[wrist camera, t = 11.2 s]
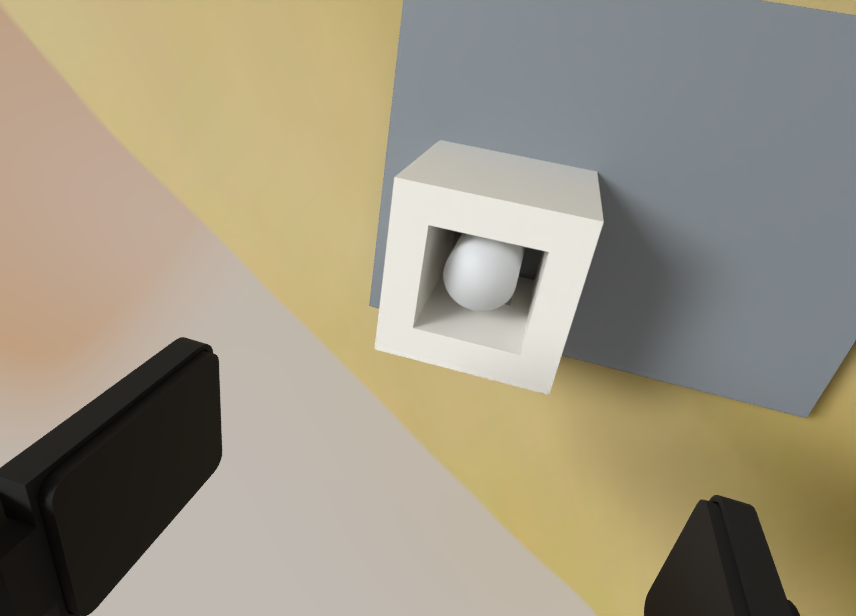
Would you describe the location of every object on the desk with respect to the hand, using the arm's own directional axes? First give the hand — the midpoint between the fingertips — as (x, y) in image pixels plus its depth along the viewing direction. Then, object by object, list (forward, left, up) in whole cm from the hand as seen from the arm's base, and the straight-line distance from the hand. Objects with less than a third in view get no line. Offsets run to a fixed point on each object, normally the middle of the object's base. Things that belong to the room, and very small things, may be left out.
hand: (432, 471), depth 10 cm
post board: (+2, -4, -15) cm, 16 cm away
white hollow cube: (0, 0, -13) cm, 13 cm away
